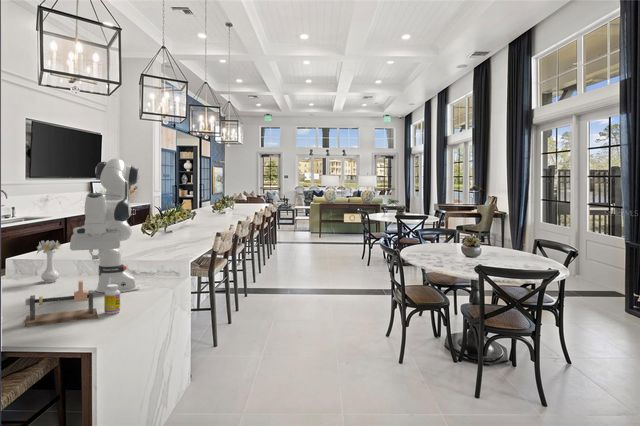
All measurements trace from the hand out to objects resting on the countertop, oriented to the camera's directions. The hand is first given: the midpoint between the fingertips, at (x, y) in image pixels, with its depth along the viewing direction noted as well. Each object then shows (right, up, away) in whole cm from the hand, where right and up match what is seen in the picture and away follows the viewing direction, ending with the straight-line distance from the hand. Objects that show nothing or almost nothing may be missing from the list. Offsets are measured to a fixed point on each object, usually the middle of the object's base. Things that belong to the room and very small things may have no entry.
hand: (95, 259), depth 193 cm
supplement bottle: (+5, -26, +6) cm, 27 cm away
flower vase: (-60, -20, +61) cm, 87 cm away
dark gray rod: (-13, -19, -6) cm, 23 cm away
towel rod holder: (-12, -26, -5) cm, 29 cm away
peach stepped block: (-6, -18, -2) cm, 19 cm away
